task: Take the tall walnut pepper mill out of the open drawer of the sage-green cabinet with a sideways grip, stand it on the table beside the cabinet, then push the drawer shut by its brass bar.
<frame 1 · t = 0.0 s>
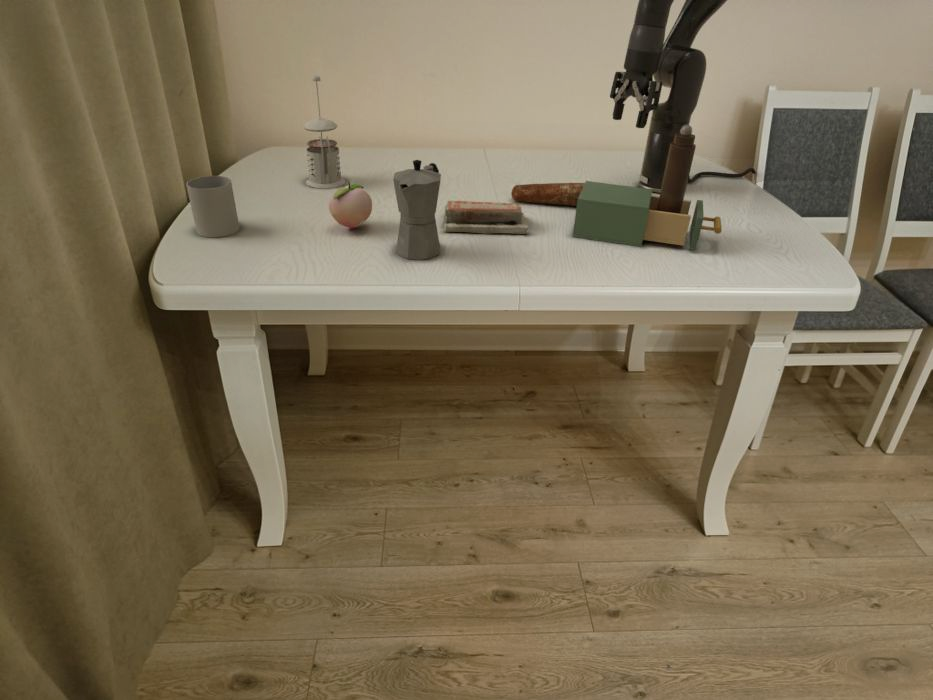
hand: (628, 123, 147), 17 cm above the table, tool pointing down, fingers open, 8 cm apart
french press: (326, 183, 156), on the table
cup: (218, 230, 129), on the table
coffeepot: (420, 249, 125), on the table
packaged product: (485, 226, 136), on the table
decorative fruit: (353, 229, 132), on the table
cabinet: (609, 231, 136), on the table
drawer: (676, 221, 130), point 4 cm above the table, slide at 9.5 cm, touching pepper mill
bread: (550, 204, 149), on the table
pepper mill: (664, 230, 132), point 2 cm above the table, touching drawer
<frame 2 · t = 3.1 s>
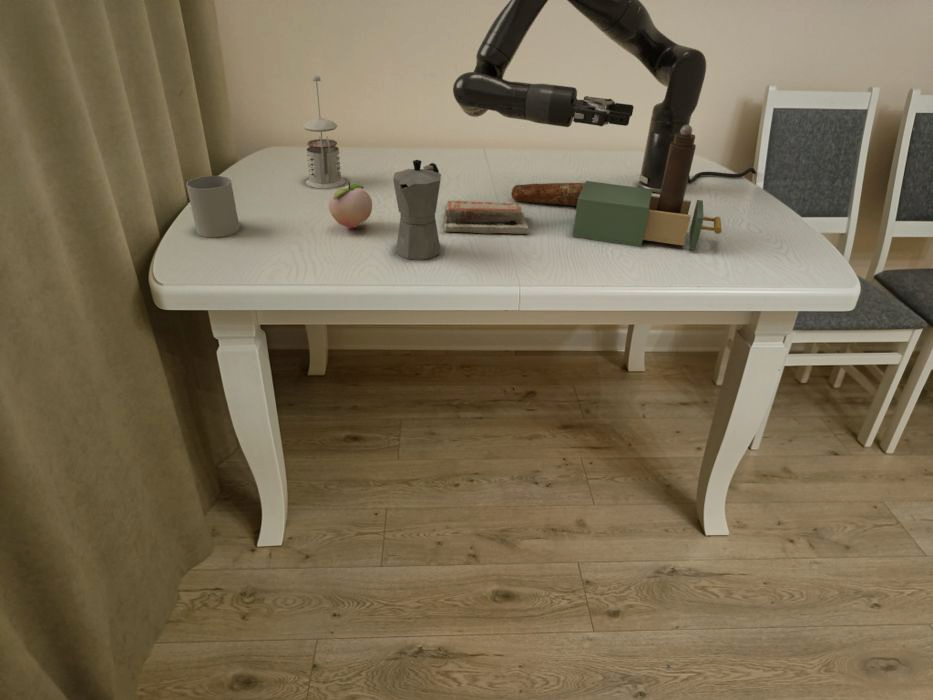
hand: (631, 115, 122), 24 cm above the table, tool horizontal, fingers open, 8 cm apart
nothing on the table moved.
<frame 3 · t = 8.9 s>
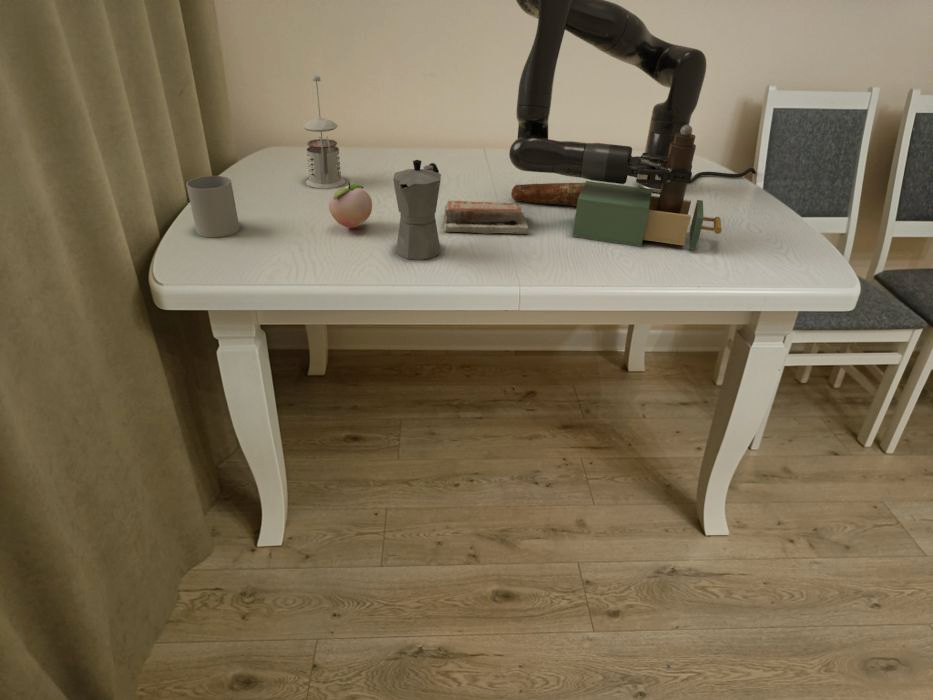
hand: (690, 173, 125), 15 cm above the table, tool horizontal, fingers closed on pepper mill, 5 cm apart
pepper mill: (664, 230, 132), point 2 cm above the table, touching drawer, gripper
everything else where it was.
when the fingers open (13 cm above the table, at t = 16.8 s): pepper mill stays where it is, on the table.
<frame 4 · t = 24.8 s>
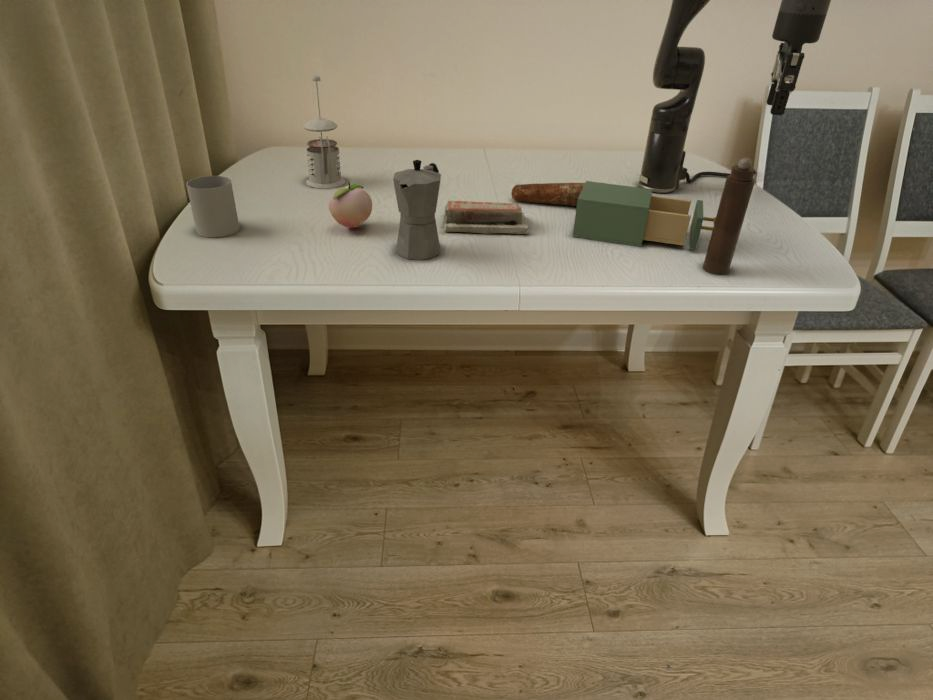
hand: (774, 109, 115), 28 cm above the table, tool pointing down, fingers open, 8 cm apart
drawer: (676, 221, 130), point 4 cm above the table, slide at 9.5 cm
pepper mill: (715, 269, 121), on the table
everything else where it was.
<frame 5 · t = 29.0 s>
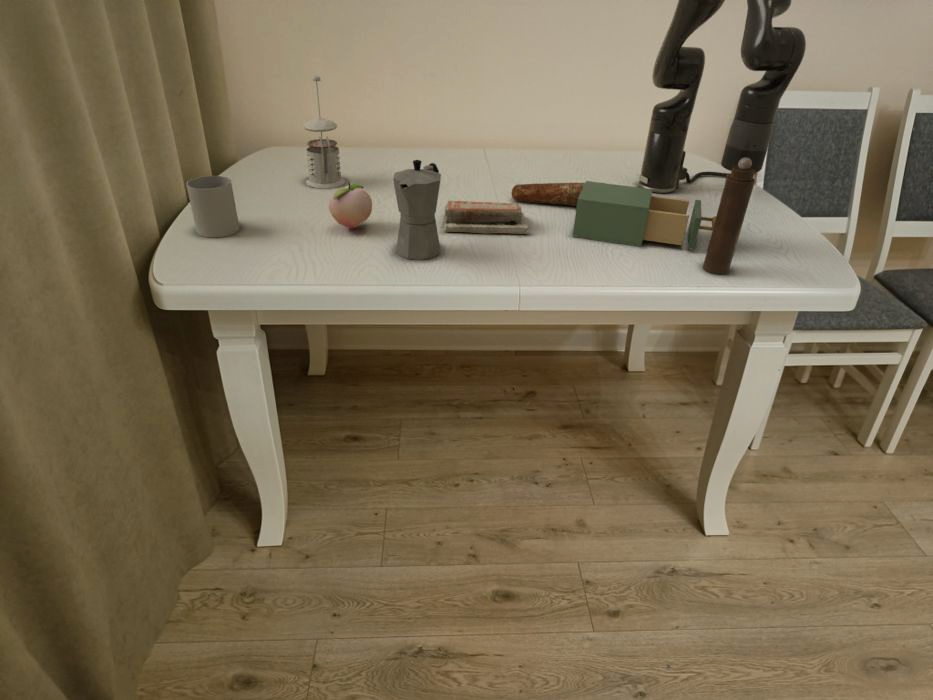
hand: (723, 228, 128), 4 cm above the table, tool pointing down, fingers closed
drawer: (674, 221, 130), point 4 cm above the table, slide at 9.1 cm, touching gripper
everything else where it was.
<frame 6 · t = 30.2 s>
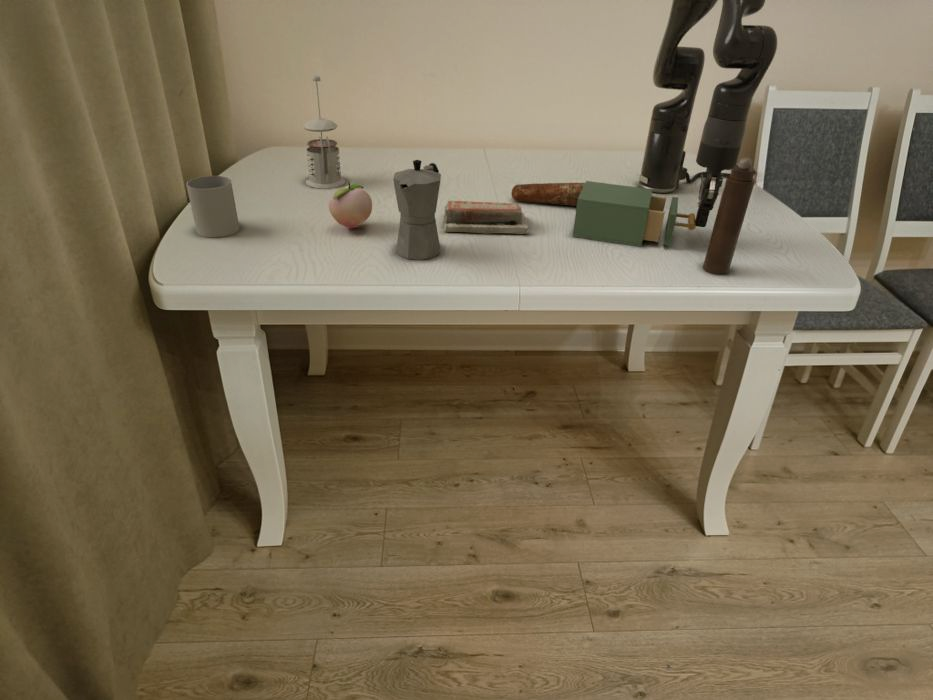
hand: (700, 225, 130), 4 cm above the table, tool pointing down, fingers closed
drawer: (651, 218, 132), point 4 cm above the table, slide at 4.4 cm, touching gripper
everything else where it was.
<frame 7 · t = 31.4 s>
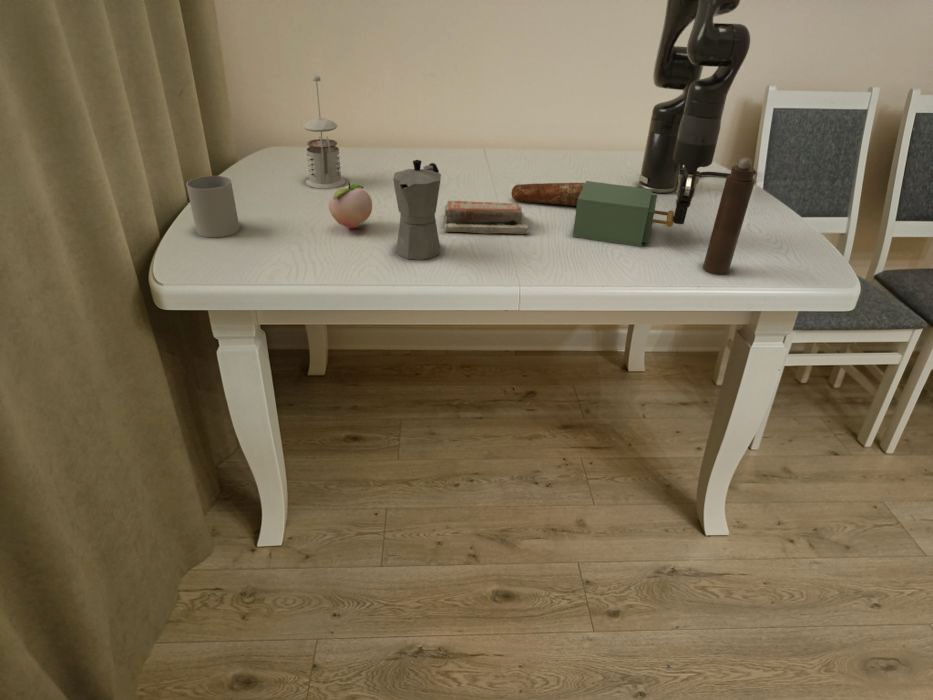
hand: (678, 222, 131), 4 cm above the table, tool pointing down, fingers closed
drawer: (630, 215, 133), point 4 cm above the table, slide at 0.0 cm, touching cabinet, gripper
everything else where it was.
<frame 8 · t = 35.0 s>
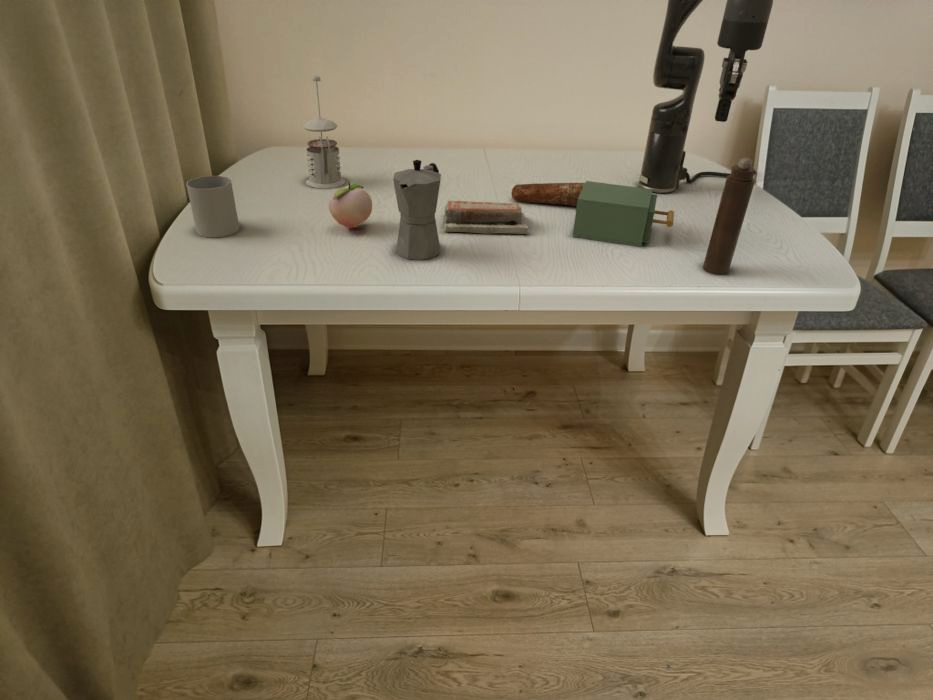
hand: (720, 120, 118), 25 cm above the table, tool pointing down, fingers closed
drawer: (630, 215, 133), point 4 cm above the table, slide at 0.0 cm, touching cabinet
everything else where it was.
at the end: pepper mill inside the target area (0.3 cm from its centre), on the table; pepper mill tilted 0°; drawer slide at 0.0 cm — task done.
